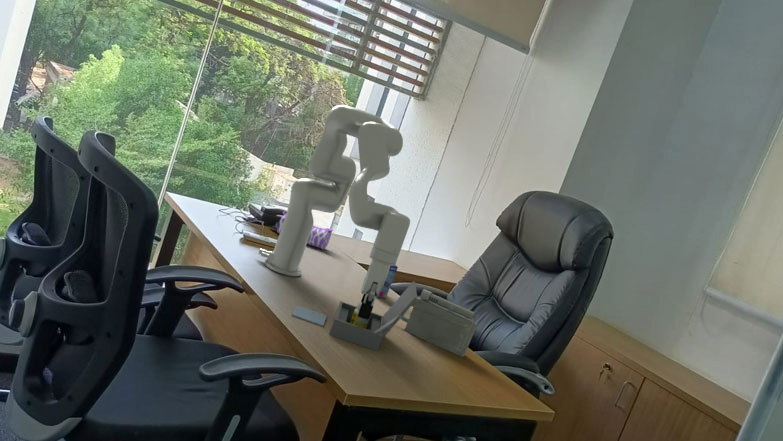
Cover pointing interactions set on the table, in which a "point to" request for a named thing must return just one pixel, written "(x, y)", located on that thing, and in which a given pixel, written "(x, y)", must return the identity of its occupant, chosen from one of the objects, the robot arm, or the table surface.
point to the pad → (309, 315)
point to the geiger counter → (441, 323)
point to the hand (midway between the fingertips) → (363, 313)
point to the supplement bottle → (358, 318)
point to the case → (371, 321)
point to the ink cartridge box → (388, 281)
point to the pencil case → (312, 234)
